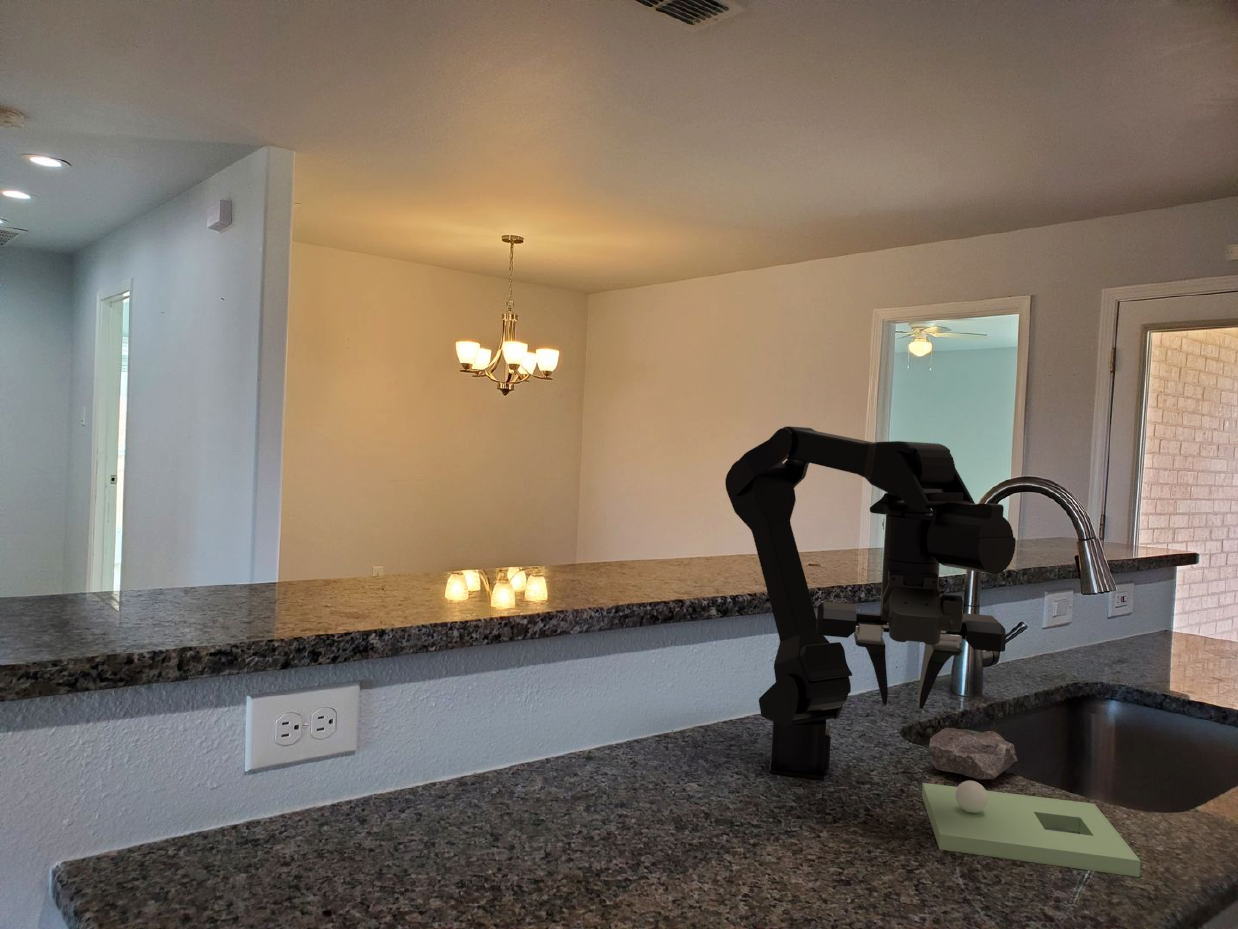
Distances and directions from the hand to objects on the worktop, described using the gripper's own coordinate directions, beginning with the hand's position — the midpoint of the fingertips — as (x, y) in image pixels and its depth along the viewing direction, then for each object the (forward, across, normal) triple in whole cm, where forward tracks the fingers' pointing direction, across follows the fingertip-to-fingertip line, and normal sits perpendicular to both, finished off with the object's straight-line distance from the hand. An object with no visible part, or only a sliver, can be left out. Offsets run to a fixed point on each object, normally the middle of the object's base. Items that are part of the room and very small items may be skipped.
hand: (902, 706), depth 96 cm
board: (+12, +12, 0) cm, 17 cm away
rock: (+13, +14, +19) cm, 27 cm away
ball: (+9, +8, 0) cm, 12 cm away
